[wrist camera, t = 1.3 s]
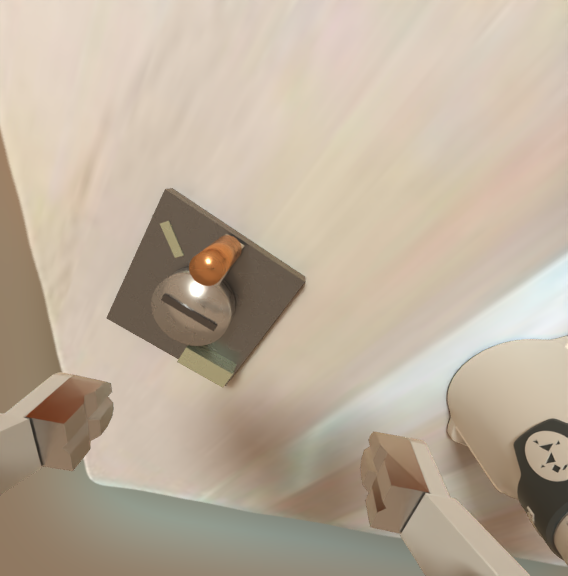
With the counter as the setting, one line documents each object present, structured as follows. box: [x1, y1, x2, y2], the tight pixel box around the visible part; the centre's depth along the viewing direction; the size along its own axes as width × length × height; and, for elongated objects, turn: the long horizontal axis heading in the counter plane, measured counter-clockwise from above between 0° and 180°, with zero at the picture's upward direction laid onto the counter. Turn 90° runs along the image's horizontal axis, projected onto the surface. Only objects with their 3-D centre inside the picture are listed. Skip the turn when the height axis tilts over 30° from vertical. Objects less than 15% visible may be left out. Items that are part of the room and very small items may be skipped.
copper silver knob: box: [151, 234, 245, 346], centre depth 26 cm, size 8×13×8 cm, turn 146°
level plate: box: [107, 188, 305, 387], centre depth 31 cm, size 16×17×3 cm
